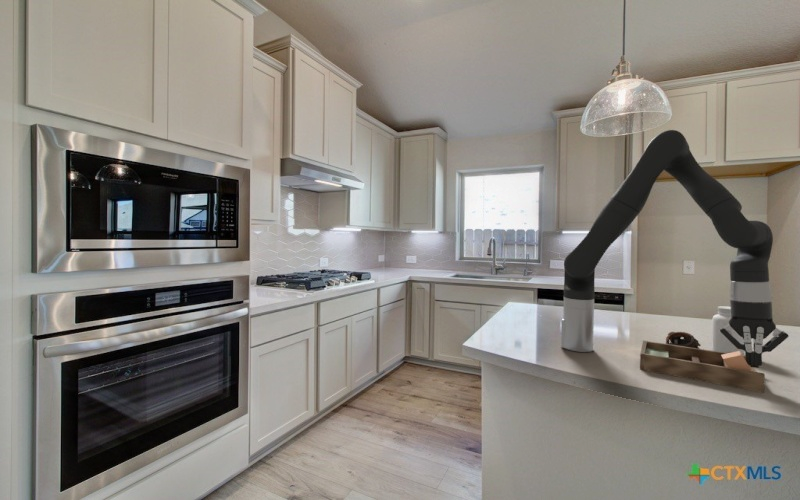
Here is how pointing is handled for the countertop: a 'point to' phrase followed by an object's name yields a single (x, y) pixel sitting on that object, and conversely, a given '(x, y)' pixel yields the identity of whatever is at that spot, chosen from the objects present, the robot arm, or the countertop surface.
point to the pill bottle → (718, 338)
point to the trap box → (697, 365)
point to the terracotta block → (735, 361)
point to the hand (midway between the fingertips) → (753, 366)
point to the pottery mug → (682, 340)
